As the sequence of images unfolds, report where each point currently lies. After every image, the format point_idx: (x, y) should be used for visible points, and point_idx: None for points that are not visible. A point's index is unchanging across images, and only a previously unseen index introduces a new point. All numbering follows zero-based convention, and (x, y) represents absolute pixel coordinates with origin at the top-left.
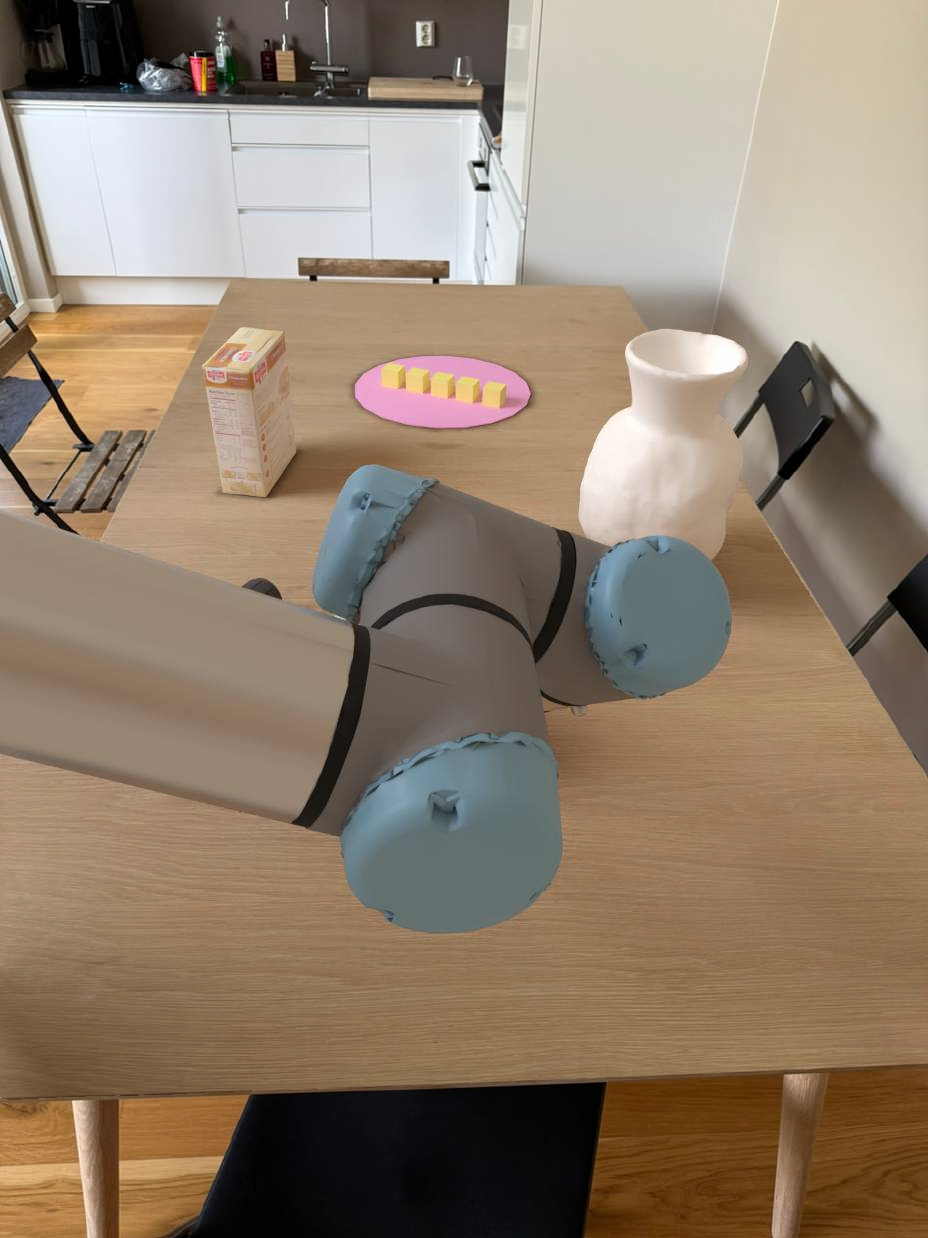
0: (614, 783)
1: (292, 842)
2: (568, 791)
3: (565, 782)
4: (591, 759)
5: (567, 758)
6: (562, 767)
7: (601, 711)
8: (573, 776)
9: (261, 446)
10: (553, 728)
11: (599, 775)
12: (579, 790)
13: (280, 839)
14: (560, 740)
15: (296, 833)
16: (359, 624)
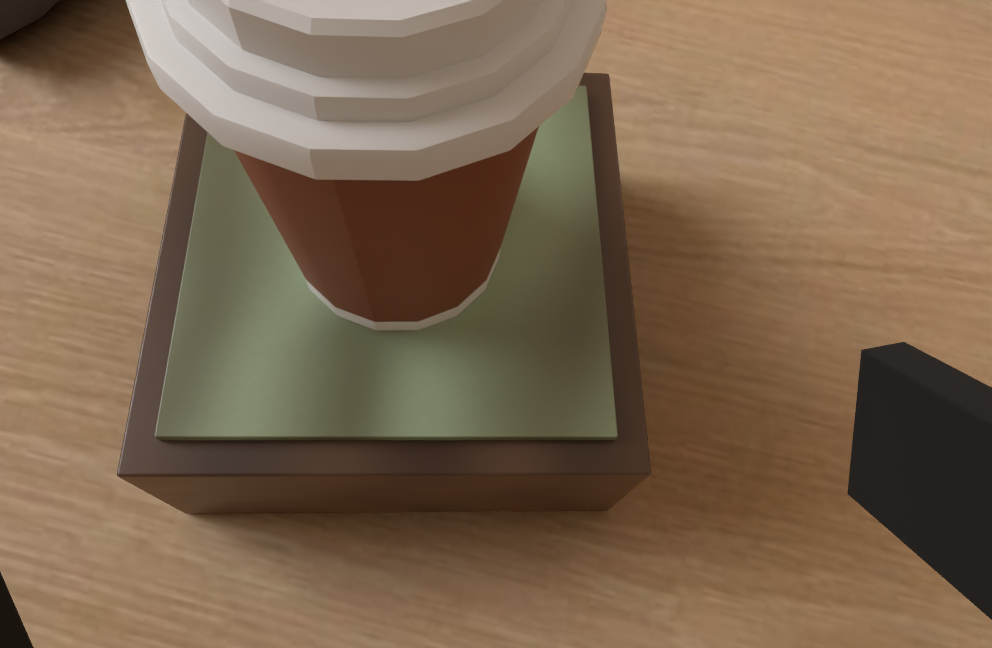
0: (970, 623)
1: (52, 616)
2: (839, 620)
3: (836, 585)
4: None
5: (854, 501)
6: (836, 529)
7: (967, 363)
8: (861, 569)
9: None
10: (833, 390)
11: (932, 583)
12: (870, 624)
13: (24, 596)
14: (845, 434)
15: (73, 586)
16: (188, 31)
